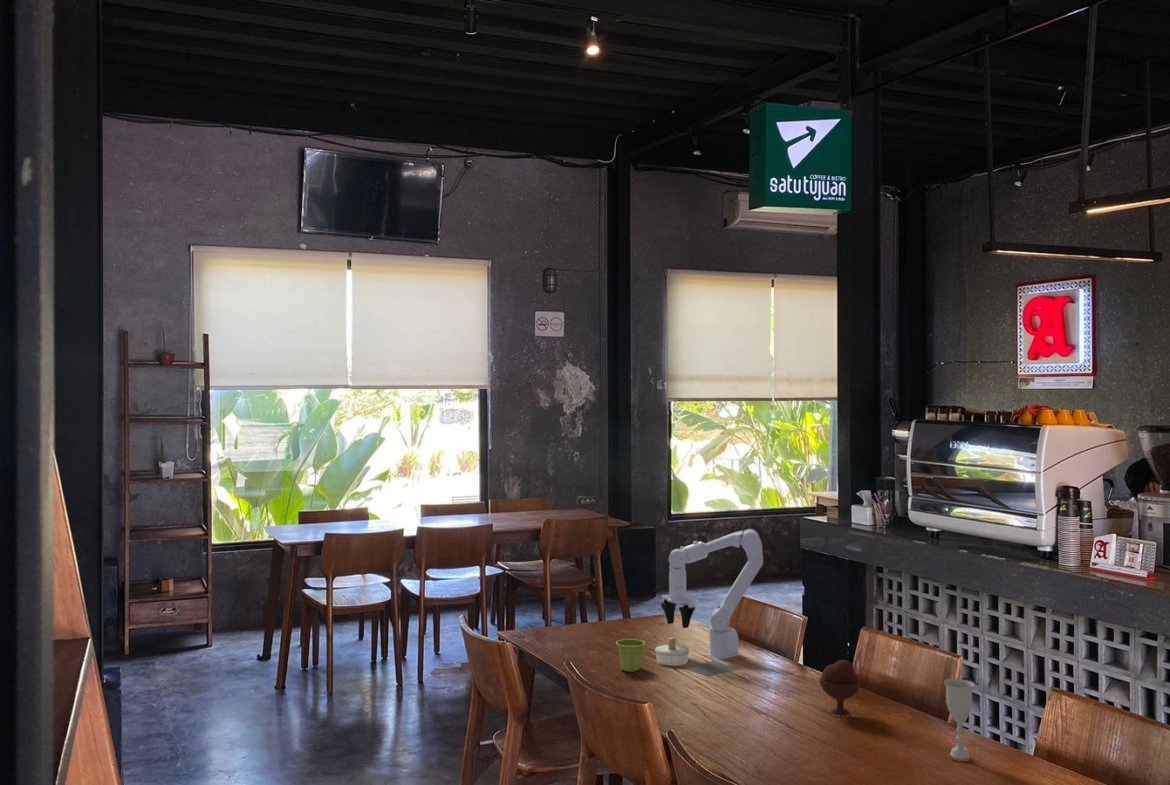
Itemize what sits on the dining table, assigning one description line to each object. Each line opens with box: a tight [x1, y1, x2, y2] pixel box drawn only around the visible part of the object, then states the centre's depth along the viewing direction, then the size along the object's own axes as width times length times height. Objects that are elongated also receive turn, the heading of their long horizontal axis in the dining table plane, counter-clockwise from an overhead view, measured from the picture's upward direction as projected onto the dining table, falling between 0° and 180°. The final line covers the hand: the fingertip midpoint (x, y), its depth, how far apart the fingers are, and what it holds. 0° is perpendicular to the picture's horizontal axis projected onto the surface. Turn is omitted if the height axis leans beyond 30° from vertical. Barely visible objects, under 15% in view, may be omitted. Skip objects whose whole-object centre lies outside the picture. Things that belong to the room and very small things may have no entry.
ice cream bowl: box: [819, 659, 861, 716], centre depth 272 cm, size 11×11×15 cm
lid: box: [655, 637, 690, 656], centre depth 326 cm, size 11×11×4 cm
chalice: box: [943, 678, 975, 759], centre depth 238 cm, size 7×7×18 cm
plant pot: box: [615, 638, 646, 673], centre depth 318 cm, size 9×9×9 cm
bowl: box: [655, 652, 689, 667], centre depth 326 cm, size 10×10×4 cm
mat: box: [682, 660, 740, 677], centre depth 317 cm, size 14×12×1 cm
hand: (678, 625), depth 335 cm, fingers open, 7 cm apart
